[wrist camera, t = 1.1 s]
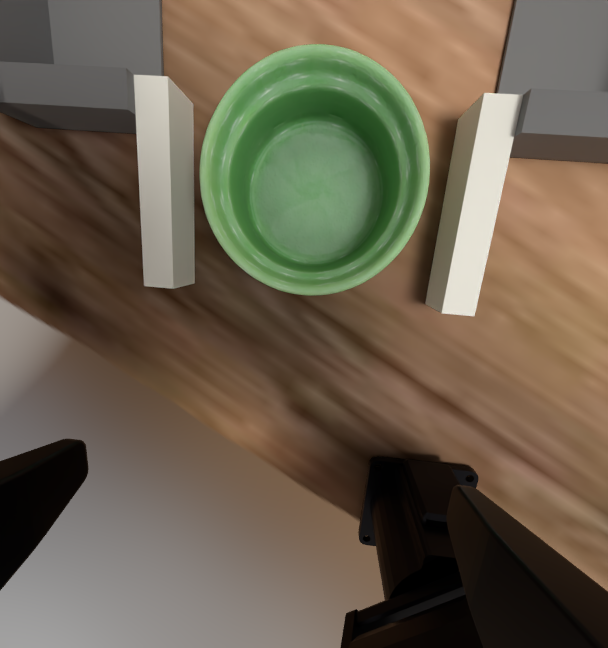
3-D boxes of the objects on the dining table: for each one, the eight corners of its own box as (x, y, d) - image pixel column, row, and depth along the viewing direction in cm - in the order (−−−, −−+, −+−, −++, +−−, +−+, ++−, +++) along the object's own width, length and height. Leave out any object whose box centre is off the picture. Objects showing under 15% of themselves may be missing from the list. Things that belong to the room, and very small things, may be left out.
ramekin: (257, 300, 18) (234, 316, 13) (210, 130, 16) (166, 85, 11) (415, 263, 16) (446, 268, 12) (386, 76, 14) (410, 3, 10)
